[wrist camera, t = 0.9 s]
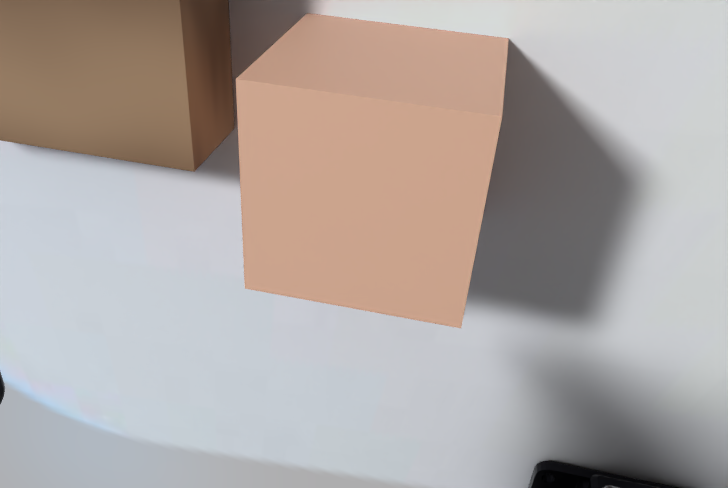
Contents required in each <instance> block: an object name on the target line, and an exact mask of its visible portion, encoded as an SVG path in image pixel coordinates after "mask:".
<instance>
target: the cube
mask: <svg viewBox="0 0 728 488" xmlns="http://www.w3.org/2000/svg"><path fill="white" fill-rule="evenodd" d="M508 41H509V38H501V37H493V36H486V35H478V34H470V33H462V32H454V31H446V30H438V29H430V28H422V27H414V26H406V25H398V24H390V23H382V22H374V21H366V20H358V19H350V18H342V17H334V16H326V15H318V14H310V13H307V14H306V15H305V16H303V17H302V18H301V19H300V20H299V21H298V22H297V23H296V24H295V25H294V26H293V27H292V28H290V29H289V30H288V31H287V32H286V33H285V34H284V35H283V36H282V37H281V38H280V39H279V40H277V41H276V42H275V43H274V44H273V45H272V46H271V47H270V48H269V49H268V50H267V51H265V52H264V53H263V54H262V55H261V56H260V57H259V58H258V59H257V60H256V61H255V62H254V63H252V64H251V65H250V66H249V67H248V68H247V69H246V70H245V71H244V72H243V73H242V74H241V75H239V76H238V77H237V78H236V97H237V120H238V142H239V165H240V188H241V211H242V233H243V256H244V279H245V289H251V290H256V291H262V292H267V293H273V294H278V295H283V296H289V297H294V298H300V299H305V300H311V301H316V302H321V303H327V304H332V305H338V306H343V307H349V308H354V309H359V310H365V311H370V312H376V313H381V314H386V315H392V316H397V317H403V318H408V319H414V320H419V321H424V322H430V323H435V324H441V325H446V326H452V327H457V328H461V325H462V320H463V315H464V310H465V305H466V300H467V295H468V289H469V284H470V279H471V274H472V269H473V264H474V259H475V254H476V249H477V243H478V238H479V233H480V228H481V223H482V218H483V213H484V208H485V202H486V197H487V192H488V187H489V182H490V177H491V172H492V167H493V162H494V156H495V151H496V146H497V141H498V136H499V131H500V126H501V121H502V114H503V102H504V90H505V77H506V65H507V53H508Z"/></svg>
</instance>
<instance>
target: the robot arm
mask: <svg viewBox="0 0 728 488" xmlns="http://www.w3.org/2000/svg"><path fill="white" fill-rule="evenodd" d="M4 392H5V386H4V382H3V379H2V375H1V372H0V404H1V402H2V399H3V397H4ZM528 488H677V487H672V486H667V485H663V484H658V483H653V482H648V481H643V480H638V479H634V478H629V477H624V476H619V475H614V474H610V473H605V472H600V471H595V470H590V469H585V468H581V467H576V466H571V465H566V464H561V463H557V462H552V461H543V462H540V463H538V464H537V465H536V466H535V468H534V471H533V475H532V478H531V481H530V484H529V487H528Z"/></svg>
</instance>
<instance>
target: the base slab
mask: <svg viewBox="0 0 728 488" xmlns="http://www.w3.org/2000/svg"><path fill="white" fill-rule="evenodd" d="M233 129H234V109H233V88H232V66H231V45H230V24H229V3H228V0H0V140H2V141H8V142H14V143H20V144H27V145H33V146H39V147H45V148H51V149H57V150H64V151H70V152H76V153H82V154H88V155H95V156H101V157H107V158H113V159H119V160H126V161H132V162H138V163H144V164H150V165H156V166H163V167H169V168H175V169H181V170H187V171H194V172H195V170H196V169H197V168H198V167H199V166H200V165H201V164H202V163H203V162H204V161H205V160H206V159H207V158H208V156H209V155H210V154H211V153H212V152H213V151H214V150H215V149H216V148H217V147H218V146H219V145H220V144H221V142H222V141H223V140H224V139H225V138H226V137H227V136H228V135H229V134H230V133H231V132H232V131H233Z"/></svg>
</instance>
